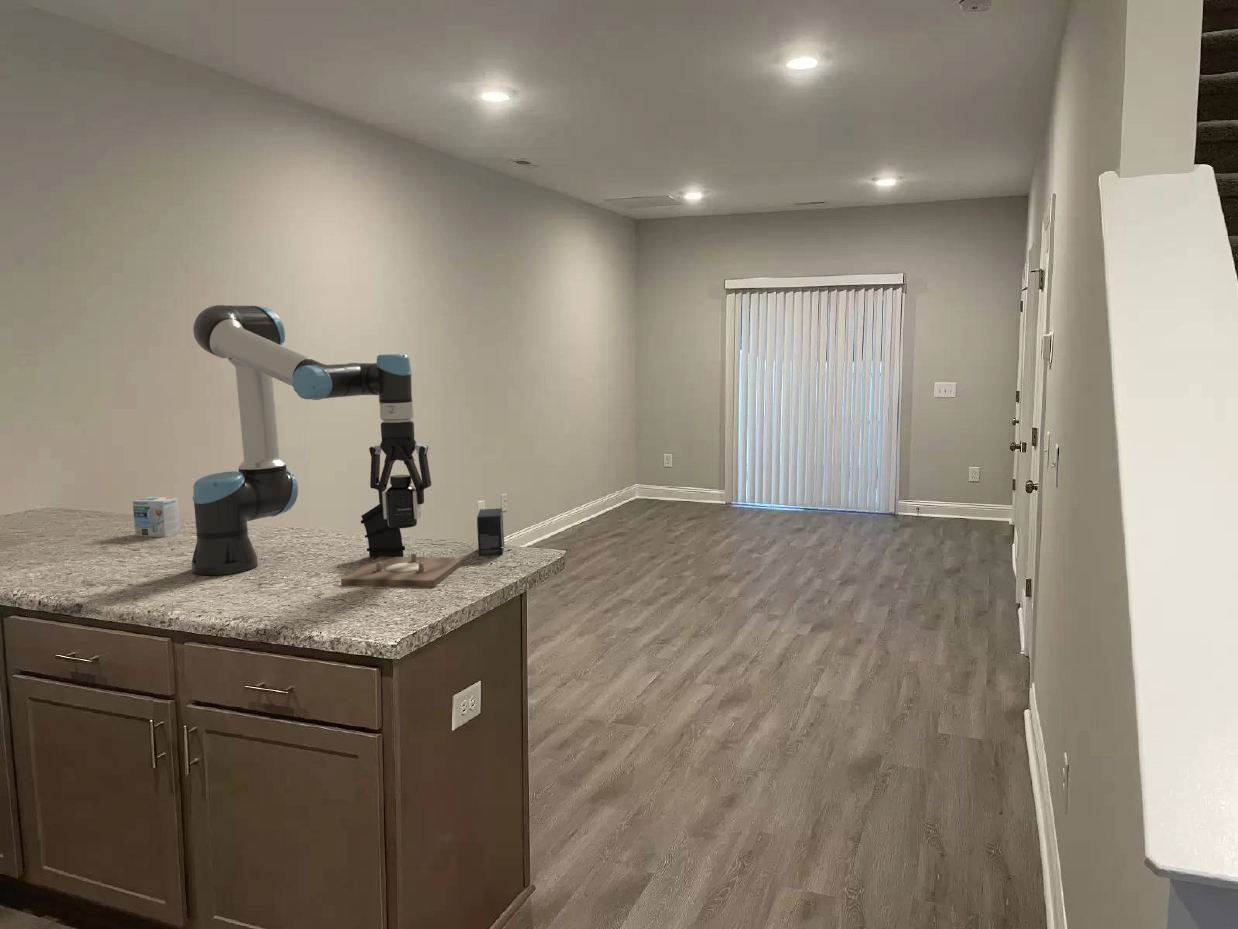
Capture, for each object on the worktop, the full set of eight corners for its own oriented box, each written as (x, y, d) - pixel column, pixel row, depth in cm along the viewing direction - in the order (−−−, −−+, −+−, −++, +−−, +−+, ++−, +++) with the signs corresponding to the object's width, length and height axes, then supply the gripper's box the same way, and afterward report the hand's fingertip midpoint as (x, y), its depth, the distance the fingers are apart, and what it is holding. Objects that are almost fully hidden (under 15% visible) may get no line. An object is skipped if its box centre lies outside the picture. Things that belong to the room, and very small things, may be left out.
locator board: (341, 585, 211) (340, 570, 211) (379, 562, 233) (378, 548, 232) (434, 587, 208) (433, 571, 207) (464, 563, 229) (463, 549, 229)
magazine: (400, 558, 230) (381, 501, 232) (373, 573, 238) (355, 519, 240) (413, 555, 233) (394, 499, 235) (385, 570, 241) (367, 516, 243)
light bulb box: (134, 536, 273) (131, 500, 271) (150, 531, 279) (147, 496, 278) (166, 537, 270) (162, 500, 269) (181, 532, 277) (178, 497, 275)
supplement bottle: (402, 529, 214) (399, 478, 212) (381, 527, 217) (378, 477, 216) (423, 524, 220) (421, 474, 218) (403, 522, 223) (400, 473, 222)
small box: (480, 547, 248) (478, 508, 246) (504, 546, 248) (503, 507, 247) (477, 556, 237) (475, 516, 236) (503, 555, 238) (501, 515, 236)
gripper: (350, 422, 213) (356, 520, 216) (432, 421, 210) (437, 521, 213) (363, 419, 220) (369, 514, 223) (443, 418, 218) (447, 515, 221)
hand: (402, 517), depth 218 cm, fingers closed on supplement bottle, 7 cm apart
